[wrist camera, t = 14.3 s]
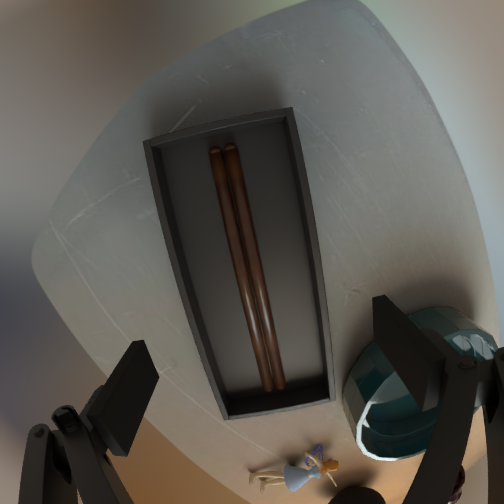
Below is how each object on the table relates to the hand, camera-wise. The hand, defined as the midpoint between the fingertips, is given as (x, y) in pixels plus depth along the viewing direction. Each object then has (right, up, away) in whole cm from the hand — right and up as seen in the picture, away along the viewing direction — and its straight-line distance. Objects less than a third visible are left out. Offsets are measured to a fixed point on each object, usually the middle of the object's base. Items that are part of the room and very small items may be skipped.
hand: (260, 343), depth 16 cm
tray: (0, +3, +10) cm, 11 cm away
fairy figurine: (+5, -24, +17) cm, 30 cm away
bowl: (+19, -9, +13) cm, 25 cm away
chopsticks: (0, +2, +10) cm, 10 cm away
